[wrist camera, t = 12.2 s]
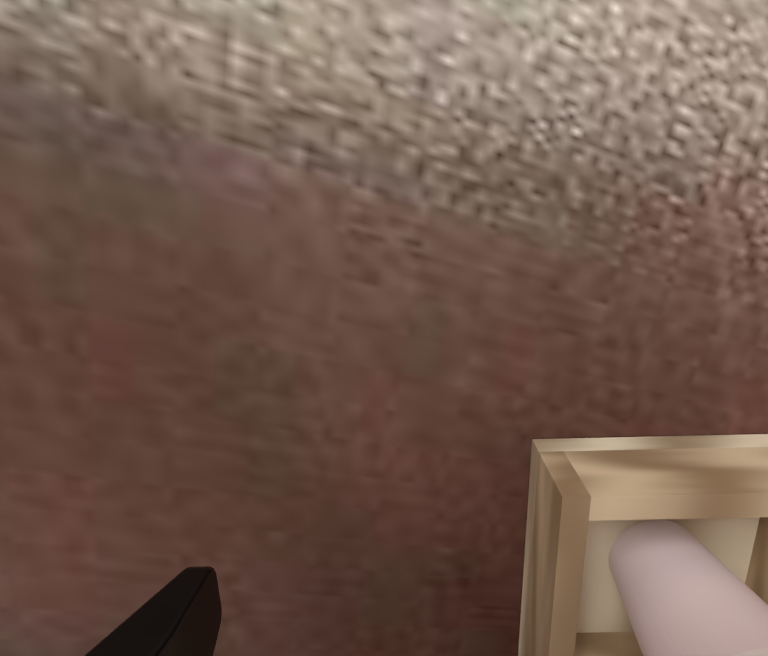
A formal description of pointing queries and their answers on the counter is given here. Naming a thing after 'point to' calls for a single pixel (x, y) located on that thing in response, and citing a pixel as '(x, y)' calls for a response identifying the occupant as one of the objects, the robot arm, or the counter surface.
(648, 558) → the smoothie
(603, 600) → the tray
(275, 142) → the counter surface
